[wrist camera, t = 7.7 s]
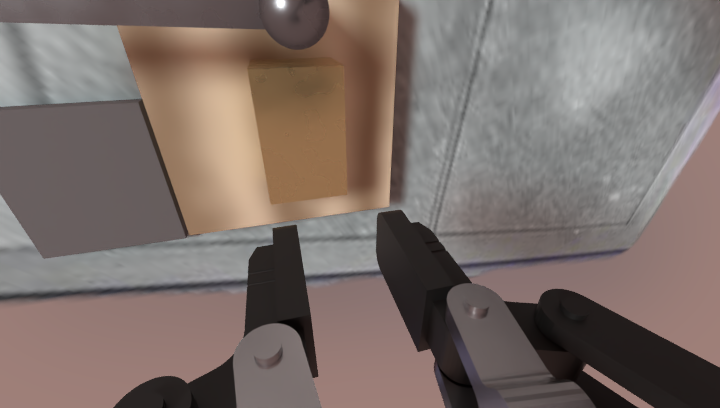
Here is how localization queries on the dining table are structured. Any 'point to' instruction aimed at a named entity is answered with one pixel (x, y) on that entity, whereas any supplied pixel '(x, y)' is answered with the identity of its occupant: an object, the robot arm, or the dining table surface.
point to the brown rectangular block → (301, 126)
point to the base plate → (237, 117)
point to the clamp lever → (184, 15)
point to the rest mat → (86, 177)
